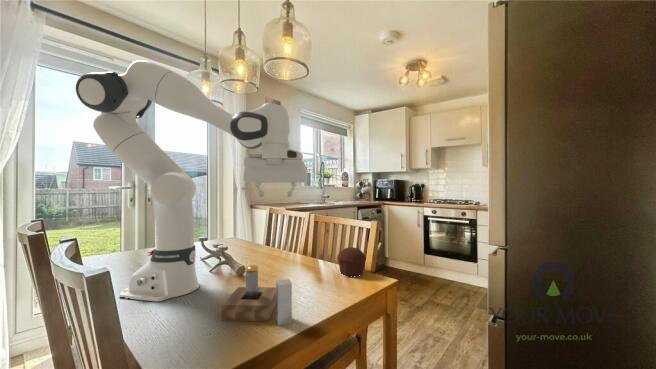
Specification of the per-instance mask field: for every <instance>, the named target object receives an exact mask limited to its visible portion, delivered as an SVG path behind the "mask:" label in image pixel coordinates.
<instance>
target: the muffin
mask: <svg viewBox="0 0 656 369" xmlns="http://www.w3.org/2000/svg"><path fill="white" fill-rule="evenodd" d="M336 258H337V260H338V266H339V272H341V273H340V275H341V274H343V275H345V276H352V277H351V278H353V277H354V276H359V275H361V274H362V273H363V274H364V269H365V263H366V260H367V257H366V255H365V254H364V252H363V251H362V250H361V249H359V248H357V247H353V246H352V247H350V246H349V247H345V248H343V249H342V250H341V251H339V253H338V255H337V257H336ZM345 276H344V277H345ZM361 276H362V275H361ZM354 278H355V277H354Z"/></svg>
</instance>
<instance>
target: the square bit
mask: <svg viewBox="0 0 656 369" xmlns="http://www.w3.org/2000/svg"><path fill="white" fill-rule="evenodd" d="M275 287H276V306H275V316H276V317H275V320H276V323H277V326H278V327H279V326H285V325H291V324H292V323H293V322H292V321H293V319H292V318H293V312H292V310H293V309H292V307H293V306H292V304H293V303H292V302H293V301H292V300H293V299H292V295H293V292H292V291H293V290H292V289H293V286H292V281H291V280H290V278H288V279H287V278H285V279H280V280H279V279H278V280H276V281H275Z"/></svg>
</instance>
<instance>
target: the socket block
mask: <svg viewBox="0 0 656 369" xmlns="http://www.w3.org/2000/svg"><path fill="white" fill-rule="evenodd" d="M275 309H276V286H275V287H263V286H261V287H259V286H258V299H246V286H245V287H244V286H243V287H241V286H240V287H237V288H236V289H235V290H234V291H233V292H232V293H231V295H229V297H228V298H227V299H226V300H225V301H224V302H223V303H222V304H221V322H222V321H223V322H229V321H230V322H233V321H234V322H269V320H270V319H271V316H272V314H273V312H274V310H275Z"/></svg>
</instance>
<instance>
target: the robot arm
mask: <svg viewBox="0 0 656 369" xmlns="http://www.w3.org/2000/svg"><path fill="white" fill-rule="evenodd" d="M77 79H78V80H77V81H76V84H75V94H76V96H77V97H78V100H79V101H80V102H81V103H82V105H84V106H85V107H87V108H89V109H91V110H93V111H95V112H96V111H97V112H100V114H99V115H98V116H96V118H95V119H94V121H93V129H94V131H95V132H96V134H97V136H98V137H99V138H100V140H101V141H102V142H103V143H104V144H105V146H106V147H107V148H108V150H110V151H111V152H112V154H114V155H115V157H117V158H118V159H119V160H120V161H121V162H122V163H123V164H124V165H125V166H126V167H127V168H128V169H129V171H131V173H133V174H134V175H135V176H137V177H139V178H140V179H141V180H142V181H144V183H146V184H147V185H148V186H150V195H151V200H152V208H153V209H152V210H153V214H154V221H155V248H154V249H152V250H151V251H149V252H147V256H146V257H151V258H150V259H149V261H148V262H147V263H145V264H144V265H142V266H141V267H140V268H139V269H137V270H136V271H135V272H134V273H132V275H131V276H130V278H129V282H128V283H129V284H128V287H126V288H125V289H123V290H122V291H121V292H119V296H120V297H125V298H124V299H128V298H130V300H138V301H148V302H162V301H165V300H168V299H172V298H176V297H180V296H184V295H187V294H189V293H193V292H194V291H195V290H197V289H198V288H199V287H200V284H199V280H198V275H197V272H196V270H197V269H196V264H195V262H196V255H197V254H196V245H195V221H194V220H195V219H194V209H193V198H194V196H195V195H196V193H197V192H196V191H197V187H196V183H195V181H194V179H192V178H191V177H190V176H189V175H188V174H187V172H185V170H183V169H182V168H181V167H180V166H179V164H177V163H176V162H175V161H174V160H173V158H171V157H170V156H169V155H168V154H167V153H166V152H165V151H164V150H163V149H162V148H161V147H160V146H159V145H158V144H157V142H155V140H153V139H152V137H151V136H150V135H149V134H148V132H146V131H145V130H144V129H143V128H142V126H140V125H139V123H138V121H137V119H141V118H142V117H143V116H144V114H145V113H146V112H147V110H148V109H149V108H150V107H151V105H152V103H154V104H157V105H159V106H161V107H163V108H164V109H167V110H170V111H173V112H175V113H178V114H182V115H184V116H187V117H191V118H193V119H197V120H200V121H203V122H206V123H208V124H209V125H212V126H214V127H216V128H218V129H220V130H222V131H224V132H226V133H227V134H230V135H231V136H233V137H234V138H235V140H237V141H238V143H240V145H241V146H243V147H244V148H246V149H249V150H255V149H258V148H261V153H259V154H257V153H256V154H252V153H251V154H248V155H246V156H245V157H244V158H243V167H244V170H243V176H242V177H243V178H242V179H243V181H244V182H245V183H248V184H249V183H252V184H253V183H254V187H255V189H256V190H257V195H258V197H257V198H264V197H265V191H264V190H262V189H261V185H262V184H261V183H263V184H264V183H271V184H272V183H290V187H291V188H290V190H288V191H286V192H287V193H286V194H287V197H288V198H291V197H293V196H294V191H295V188H296V187H297V183H305V182H307V180H308V178H307V177H308V175H307V168H306V167H307V166H306V164H305V162H304V161H303V160H304V156H303V153H302V152H301V151H298V150H294V149H291V148H290V142H289V134H290V118H289V113H288V111H287V109H286V108H285V107H284V106H283V105H282V104H279V103H276V102H265V103H263V104H262V105H260V106H259V107H257V108H254V109H251V110H246V111H239V112H238V113H235V114H232V113H230V112H228V111H225V109H222V108H220V106H217V105H216V104H215V103H213V102H212V101H211V100H210V99H209V98H208V97H207V96H206V95H205V94H204V93H203V92H202V91H201V89H200V88H198V86H197V85H196V84H194V83H193V82H191V81H190V80H189V79H188V78H186V77H184V76H183V75H181V74H179V73H177V72H175V71H173V70H171V69H169V68H167V67H164V66H162V65H159V64H157V63H154V62H150V61H147V60H143V59H141V60H135V61H133V62H132V63H131V64H129V66H128V68H127V70H126V71H125V73H123V74H118V73H117V72H115V71H103V72H102V71H100V72H98V71H97V72H89V73H86V74H83V75H81V76H79V78H77ZM120 297H119V298H120Z"/></svg>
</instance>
